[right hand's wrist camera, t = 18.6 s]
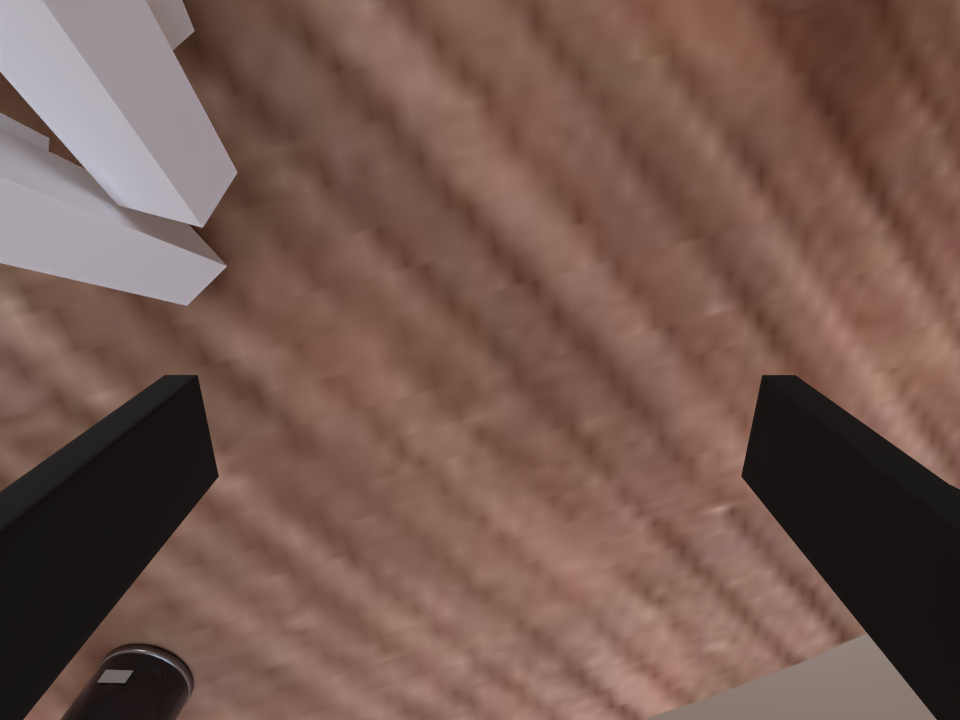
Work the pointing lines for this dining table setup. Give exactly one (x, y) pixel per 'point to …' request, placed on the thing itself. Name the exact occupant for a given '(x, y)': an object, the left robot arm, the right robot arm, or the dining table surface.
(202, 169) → the pile of blocks
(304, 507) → the dining table surface
